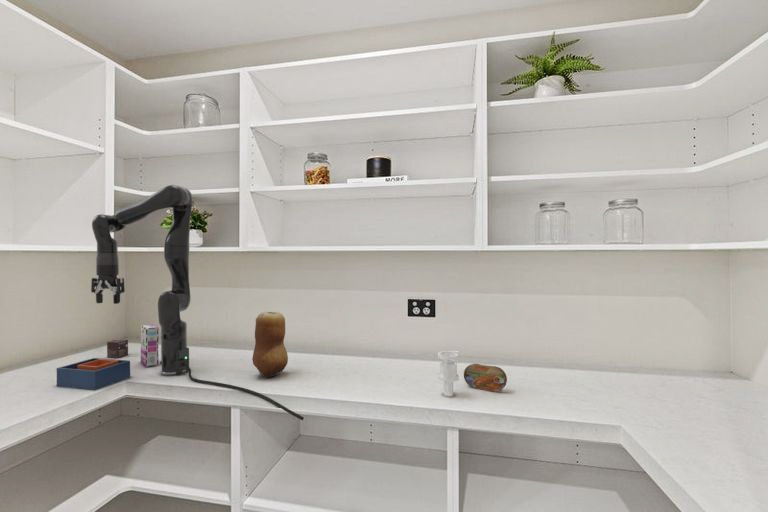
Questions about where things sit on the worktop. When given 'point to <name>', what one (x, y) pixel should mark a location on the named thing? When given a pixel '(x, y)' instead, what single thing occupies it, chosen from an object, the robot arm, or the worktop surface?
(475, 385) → the tin
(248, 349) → the worktop surface
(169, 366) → the robot arm
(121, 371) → the big bin
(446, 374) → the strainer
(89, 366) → the small bin
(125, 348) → the box
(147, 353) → the candy bar box
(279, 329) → the butternut squash
